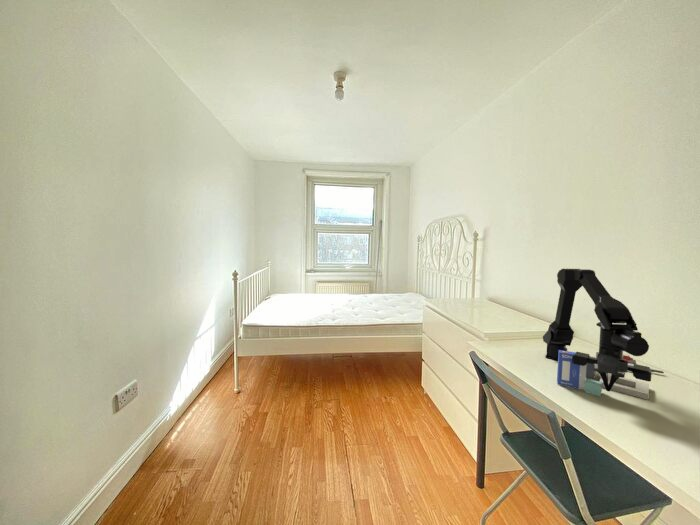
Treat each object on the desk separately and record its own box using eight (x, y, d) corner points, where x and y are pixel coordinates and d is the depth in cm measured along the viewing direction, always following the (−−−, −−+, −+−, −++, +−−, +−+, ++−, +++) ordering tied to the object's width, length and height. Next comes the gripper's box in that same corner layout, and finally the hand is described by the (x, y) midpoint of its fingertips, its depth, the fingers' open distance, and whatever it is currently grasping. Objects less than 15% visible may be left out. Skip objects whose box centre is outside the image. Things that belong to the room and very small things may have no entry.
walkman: (557, 384, 103) (559, 351, 102) (556, 381, 106) (558, 348, 105) (586, 390, 99) (588, 355, 98) (584, 386, 102) (586, 352, 101)
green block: (578, 390, 99) (579, 380, 99) (580, 386, 102) (581, 377, 102) (600, 396, 95) (600, 386, 95) (601, 392, 98) (602, 382, 98)
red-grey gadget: (594, 364, 120) (664, 377, 109) (595, 353, 120) (665, 365, 109) (592, 357, 128) (657, 368, 116) (592, 347, 127) (658, 357, 116)
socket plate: (598, 386, 102) (599, 381, 102) (602, 376, 109) (602, 372, 109) (648, 399, 93) (648, 394, 93) (648, 388, 100) (648, 383, 100)
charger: (579, 376, 109) (580, 357, 109) (581, 372, 112) (582, 354, 112) (593, 379, 106) (594, 360, 106) (595, 376, 109) (596, 357, 109)
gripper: (570, 343, 95) (567, 389, 96) (653, 359, 82) (649, 413, 83) (576, 335, 103) (574, 378, 104) (652, 348, 90) (649, 398, 91)
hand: (608, 390), depth 95 cm, fingers closed
